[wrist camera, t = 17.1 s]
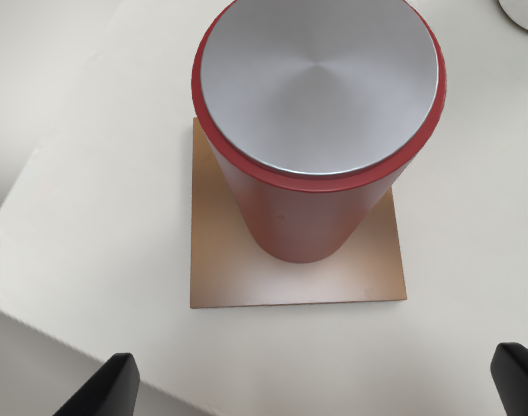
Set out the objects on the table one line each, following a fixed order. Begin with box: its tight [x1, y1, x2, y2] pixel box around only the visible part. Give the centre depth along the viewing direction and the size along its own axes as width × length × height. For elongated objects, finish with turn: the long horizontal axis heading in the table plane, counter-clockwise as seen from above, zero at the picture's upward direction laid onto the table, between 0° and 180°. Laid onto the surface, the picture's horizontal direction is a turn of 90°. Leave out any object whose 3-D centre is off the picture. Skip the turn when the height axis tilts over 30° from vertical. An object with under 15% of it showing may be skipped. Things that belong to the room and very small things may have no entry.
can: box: [191, 0, 446, 264], centre depth 15 cm, size 6×6×13 cm
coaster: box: [190, 117, 407, 309], centre depth 22 cm, size 12×12×1 cm
